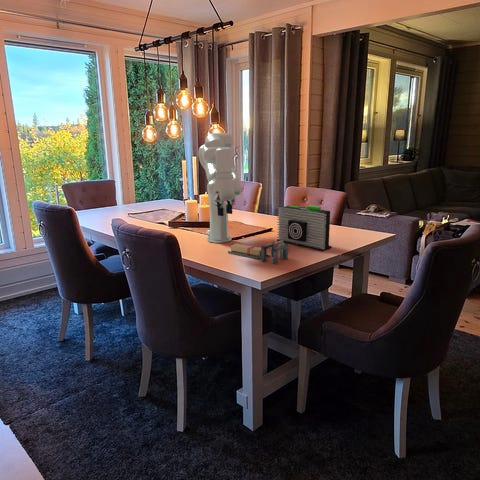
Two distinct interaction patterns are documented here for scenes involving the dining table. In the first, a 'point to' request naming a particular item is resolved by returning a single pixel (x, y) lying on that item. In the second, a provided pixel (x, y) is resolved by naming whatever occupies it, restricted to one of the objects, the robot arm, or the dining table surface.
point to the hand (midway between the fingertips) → (225, 214)
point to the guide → (246, 255)
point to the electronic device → (304, 227)
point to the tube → (246, 250)
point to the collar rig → (275, 251)
